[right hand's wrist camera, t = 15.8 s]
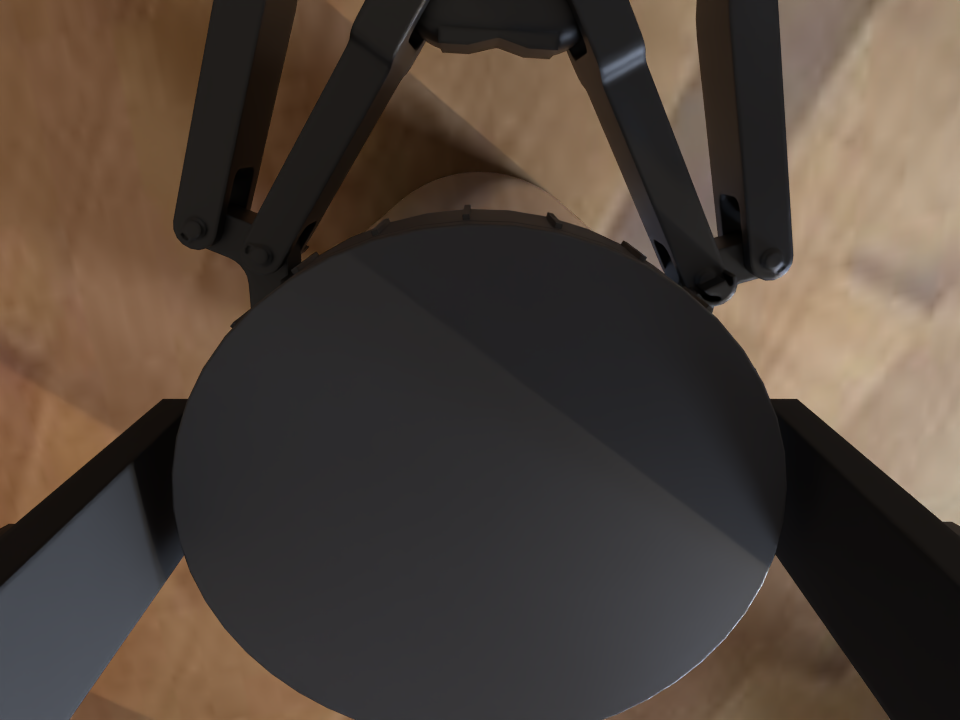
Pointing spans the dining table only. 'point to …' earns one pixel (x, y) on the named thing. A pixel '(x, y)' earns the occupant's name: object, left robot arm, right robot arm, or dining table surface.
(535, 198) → the jar
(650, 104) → the left robot arm
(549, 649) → the lid
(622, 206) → the dining table surface
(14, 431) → the dining table surface
